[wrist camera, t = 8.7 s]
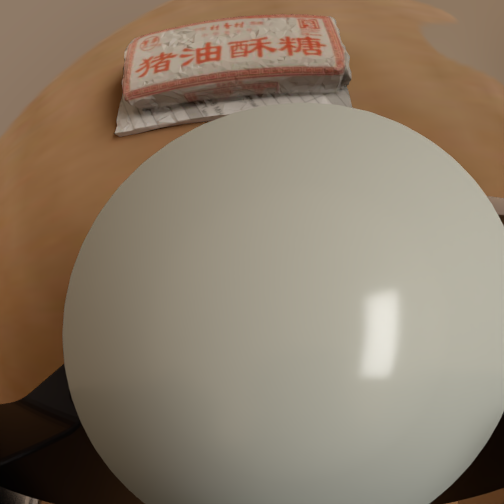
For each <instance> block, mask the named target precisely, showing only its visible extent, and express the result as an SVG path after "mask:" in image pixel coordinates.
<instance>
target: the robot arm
mask: <svg viewBox="0 0 504 504" xmlns="http://www.w3.org/2000/svg"><path fill="white" fill-rule="evenodd" d="M456 501H458V504H504V412H503V414H502V416H501V419H500V421H499V422H498V424H497V426H496V428H495V430H494V431H493V433H492V435H491V436H490V438H489V440H488V441H487V443H486V445H485V446H484V447H483V449H482V450H481V451H480V453H479V454H478V456H477V457H476V458H475V460H474V461H473V462H472V463H471V465H470V466H469V467H468V468H467V469H466V470H465V471H464V472H463V474H462V475H461V476H460V477H459V478H458V479H457V480H456V481H455V482H454V483H453V484H452V485H451V486H450V487H449V488H448V489H446V490H445V491H444V492H443V493H442V494H441V495H439V496H438V497H437V498H436V499H435V500H433V501H432V502H431V503H430V504H446V503H451V502H456ZM0 504H145V503H144V502H142V501H141V500H140V499H139V498H138V497H136V496H135V495H134V494H133V493H132V492H131V491H129V490H128V489H127V487H126V486H125V485H124V484H123V483H122V482H121V481H120V480H119V479H118V478H117V477H116V476H115V475H114V474H113V472H112V471H111V470H110V469H109V468H108V466H107V465H106V463H105V462H104V461H103V459H102V458H101V456H100V455H99V454H98V452H97V451H96V449H95V448H94V446H93V444H92V443H91V441H90V439H89V437H88V435H87V433H86V431H85V429H84V427H83V425H82V423H81V421H80V419H79V416H78V413H77V411H76V408H75V405H74V402H73V400H72V397H71V393H70V389H69V385H68V380H67V375H66V370H65V365H64V364H63V365H62V366H61V367H60V368H59V369H57V370H56V371H55V372H54V373H53V374H52V375H50V376H49V377H48V378H47V379H46V380H45V381H43V382H42V383H41V384H40V385H39V386H38V387H37V388H35V389H34V390H33V391H32V392H31V393H30V394H28V395H27V396H25V397H24V398H22V399H20V400H18V401H15V402H12V403H6V404H0Z"/></svg>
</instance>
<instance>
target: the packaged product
mask: <svg viewBox="0 0 504 504" xmlns="http://www.w3.org/2000/svg"><path fill="white" fill-rule="evenodd" d="M349 59H350V56H349V55H348V53H347V51H346V48H345V46H344V45H343V44H342V42H341V38H340V33H339V29H338V28H337V26H336V20H335V19H334V18H332V17H330V16H328V17H326V16H314V15H292V14H291V15H284V14H281V15H255V16H241V17H233V18H223V19H217V20H211V21H204V22H198V23H193V24H190V25H184V26H180V27H175V28H170V29H165V30H162V31H158V32H153V33H149V34H147V35H143V36H140V37H138V38H135V39H133V40H132V41H131V42H130V44H129V45H128V46H127V48H126V50H125V56H124V61H125V64H124V68H123V71H124V75H123V80H122V89H123V94H122V98H121V102H120V107H119V111H118V116H117V120H116V121H117V128H116V131H115V133H114V134H116V135H117V136H119V137H122V136H126V135H132V134H137V133H141V132H145V131H149V130H153V129H158V128H162V127H169V126H175V125H180V124H188V123H196V122H205V121H213V120H216V119H219V118H221V117H224V116H227V115H229V114H232V113H235V112H239V111H244V110H248V109H252V108H257V107H262V106H267V105H275V104H287V103H303V102H304V103H321V104H333V105H341V106H346V107H350V108H352V105H351V100H350V96H349V92H348V89H347V85H349V82H350V80H351V71H350V68H349Z"/></svg>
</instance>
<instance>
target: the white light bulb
mask: <svg viewBox="0 0 504 504" xmlns="http://www.w3.org/2000/svg"><path fill="white" fill-rule="evenodd" d="M62 336H63V353H64V365H65V370H66V375H67V380H68V385H69V389H70V393H71V397H72V400H73V402H74V405H75V408H76V411H77V413H78V416H79V419H80V421H81V423H82V425H83V427H84V429H85V431H86V433H87V435H88V437H89V439H90V441H91V443H92V444H93V446H94V448H95V449H96V451H97V452H98V454H99V455H100V456H101V458H102V459H103V461H104V462H105V463H106V465H107V466H108V468H109V469H110V470H111V471H112V472H113V474H114V475H115V476H116V477H117V478H118V479H119V480H120V481H121V482H122V483H123V484H124V485H125V486H126V487H127V489H128V490H129V491H131V492H132V493H133V494H134V495H135V496H136V497H138V498H139V499H140V500H141V501H142V502H144V503H145V504H430V503H431V502H432V501H433V500H435V499H436V498H437V497H438V496H439V495H441V494H442V493H443V492H444V491H445V490H446V489H448V488H449V487H450V486H451V485H452V484H453V483H454V482H455V481H456V480H457V479H458V478H459V477H460V476H461V475H462V474H463V472H464V471H465V470H466V469H467V468H468V467H469V466H470V465H471V463H472V462H473V461H474V460H475V458H476V457H477V456H478V454H479V453H480V451H481V450H482V449H483V447H484V446H485V445H486V443H487V441H488V440H489V438H490V436H491V435H492V433H493V431H494V430H495V428H496V426H497V424H498V422H499V421H500V419H501V416H502V414H503V412H504V226H503V224H502V222H501V220H500V218H499V216H498V214H497V212H496V211H495V209H494V207H493V205H492V203H491V202H490V201H489V199H488V198H487V196H486V195H485V194H484V192H483V191H482V189H481V188H480V187H479V185H478V184H477V183H476V181H475V180H474V179H473V178H472V177H471V176H470V175H469V174H468V173H467V172H466V171H465V170H464V169H463V167H462V166H461V165H460V164H459V163H458V162H457V161H456V160H454V159H453V158H452V157H451V156H450V155H449V154H447V153H446V152H445V151H444V150H442V149H441V148H440V147H438V146H437V145H436V144H434V143H433V142H432V141H430V140H429V139H427V138H426V137H424V136H422V135H420V134H419V133H417V132H415V131H413V130H411V129H410V128H408V127H406V126H404V125H402V124H400V123H398V122H395V121H393V120H390V119H388V118H385V117H382V116H380V115H377V114H374V113H371V112H368V111H364V110H359V109H355V108H350V107H346V106H341V105H333V104H321V103H304V102H303V103H287V104H275V105H267V106H262V107H257V108H252V109H248V110H244V111H239V112H235V113H232V114H229V115H227V116H224V117H221V118H219V119H216V120H213V121H211V122H208V123H206V124H203V125H201V126H199V127H197V128H195V129H193V130H192V131H190V132H188V133H186V134H184V135H182V136H181V137H179V138H177V139H175V140H174V141H172V142H170V143H169V144H168V145H166V146H165V147H163V148H162V149H161V150H159V151H158V152H157V153H155V154H154V155H153V156H151V157H150V158H149V159H148V160H146V161H145V162H144V163H143V164H141V165H140V166H139V167H138V168H137V169H136V170H135V171H134V172H133V173H132V174H131V175H130V176H129V177H128V178H127V179H126V180H125V181H124V182H123V183H122V185H121V186H120V187H119V188H118V189H117V190H116V192H115V193H114V194H113V195H112V197H111V198H110V199H109V201H108V202H107V203H106V205H105V206H104V208H103V209H102V210H101V212H100V213H99V215H98V216H97V218H96V220H95V222H94V223H93V225H92V227H91V229H90V231H89V232H88V234H87V236H86V238H85V240H84V242H83V244H82V246H81V249H80V252H79V254H78V257H77V260H76V262H75V265H74V268H73V271H72V274H71V277H70V282H69V286H68V291H67V296H66V301H65V306H64V318H63V335H62Z"/></svg>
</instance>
